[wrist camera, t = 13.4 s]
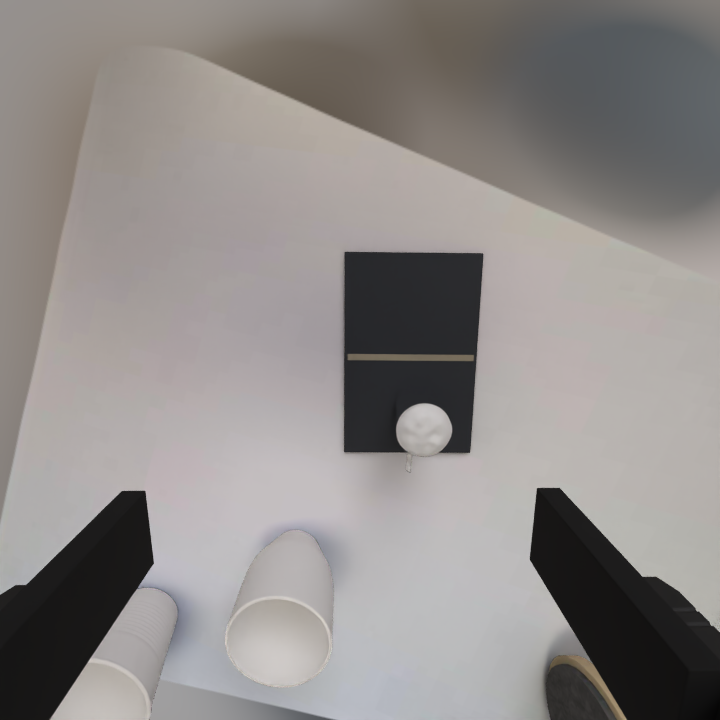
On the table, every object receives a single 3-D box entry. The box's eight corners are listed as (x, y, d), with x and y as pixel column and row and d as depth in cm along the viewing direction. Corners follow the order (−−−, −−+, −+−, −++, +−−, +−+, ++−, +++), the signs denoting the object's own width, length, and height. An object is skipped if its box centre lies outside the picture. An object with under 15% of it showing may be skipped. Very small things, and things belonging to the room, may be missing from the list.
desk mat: (345, 252, 40) (344, 252, 40) (482, 253, 40) (483, 253, 40) (344, 450, 44) (344, 452, 44) (469, 451, 44) (470, 453, 44)
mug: (267, 504, 45) (237, 586, 33) (347, 525, 46) (344, 612, 34) (242, 596, 47) (205, 703, 36) (318, 614, 48) (307, 725, 36)
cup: (211, 594, 47) (169, 690, 37) (172, 659, 49) (121, 768, 38) (129, 555, 46) (61, 641, 35) (92, 622, 48) (16, 724, 37)
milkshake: (376, 416, 43) (382, 458, 33) (403, 371, 42) (417, 401, 32) (414, 437, 44) (432, 484, 34) (442, 392, 43) (468, 428, 33)
